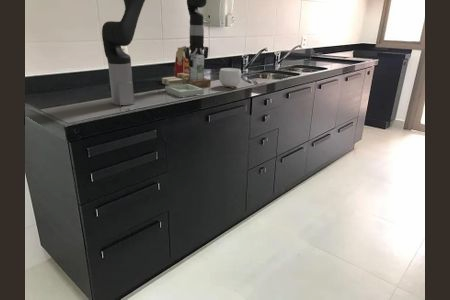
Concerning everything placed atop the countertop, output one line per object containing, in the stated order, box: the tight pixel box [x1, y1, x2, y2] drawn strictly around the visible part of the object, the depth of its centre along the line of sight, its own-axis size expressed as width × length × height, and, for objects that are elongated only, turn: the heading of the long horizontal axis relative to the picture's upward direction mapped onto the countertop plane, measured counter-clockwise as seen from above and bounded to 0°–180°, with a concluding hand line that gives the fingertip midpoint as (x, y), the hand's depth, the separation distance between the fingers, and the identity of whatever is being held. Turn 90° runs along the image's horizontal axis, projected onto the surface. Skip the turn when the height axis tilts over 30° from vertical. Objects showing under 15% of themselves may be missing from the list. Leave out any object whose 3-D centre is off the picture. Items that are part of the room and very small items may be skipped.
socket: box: [183, 77, 211, 89], centre depth 177 cm, size 11×11×4 cm
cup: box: [218, 67, 242, 88], centre depth 176 cm, size 12×12×10 cm
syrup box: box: [189, 54, 205, 81], centre depth 173 cm, size 6×6×14 cm
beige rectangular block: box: [161, 76, 183, 86], centre depth 180 cm, size 10×8×4 cm
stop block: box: [177, 73, 189, 79], centre depth 184 cm, size 8×4×5 cm, turn 37°
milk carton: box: [174, 45, 191, 77], centre depth 192 cm, size 9×9×20 cm
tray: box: [164, 84, 205, 98], centre depth 160 cm, size 16×13×3 cm
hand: (196, 66), depth 173 cm, fingers closed on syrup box, 6 cm apart
